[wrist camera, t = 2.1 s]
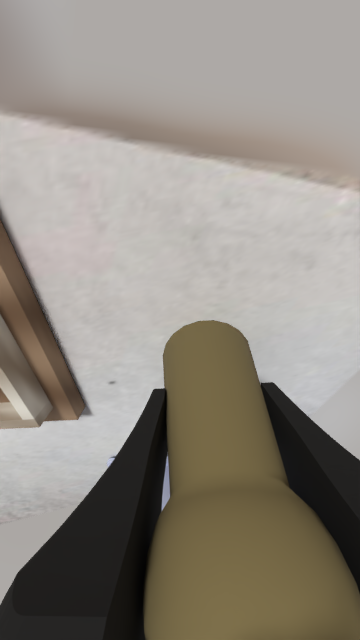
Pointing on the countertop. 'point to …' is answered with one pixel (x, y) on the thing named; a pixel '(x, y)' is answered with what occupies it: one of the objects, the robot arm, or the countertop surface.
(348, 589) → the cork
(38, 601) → the robot arm
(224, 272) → the countertop surface
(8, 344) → the board
